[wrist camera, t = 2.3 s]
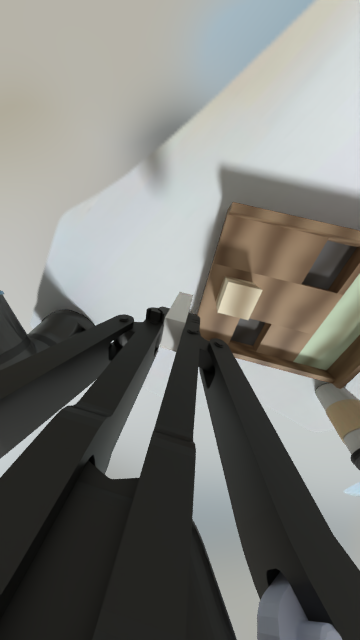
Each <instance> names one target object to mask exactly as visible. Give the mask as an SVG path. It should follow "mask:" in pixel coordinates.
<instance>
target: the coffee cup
mask: <svg viewBox="0 0 360 640" xmlns="http://www.w3.org/2000/svg"><path fill="white" fill-rule="evenodd" d="M315 393H316V396H317V397H318V399H319V401H320V402H321V404H322V406H323V408H324V409H325V411H326V414H327V416H328V417H329V419H330V421H331V423H332V424H333V426H334V428H335V429H336V431H337V433H338V434H339V436H340V438H341V439H342V441H343V443H344V444H345V445H346V446H347V448H348V449H349V451H350V453H351V454H352V455H351V461H352V463H353V464H355V466H356V467H357V468H358V469H359V470H360V400H358V399H357V398H356V397H355V396H354V395H353V394H351V393H350V392H349V391H348V390H347V389H346V388H344V387H343V388H342V389H339V388H336V387H335V386H334V385H333V384H332V383H326V384H323V385H321V386H320V387H318V388H317V389H316V391H315Z"/></svg>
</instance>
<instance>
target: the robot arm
mask: <svg viewBox="0 0 360 640" xmlns="http://www.w3.org/2000/svg"><path fill="white" fill-rule="evenodd" d="M2 294H4V292H3V291H0V458H1V457H3V456H4V455H5V454H6V453H8V452H9V451H10V450H11V449H12V448H14V447H15V446H16V445H17V444H19V443H20V442H21V441H22V440H23V439H25V438H26V437H27V436H28V435H30V434H31V433H32V432H33V431H34V430H36V429H37V428H38V427H39V426H40V425H41V424H43V423H44V422H45V421H47V420H48V419H49V418H50V417H51V416H53V415H54V414H55V413H56V412H57V411H58V410H60V409H61V408H62V407H63V406H65V405H66V404H67V403H68V402H70V401H71V400H72V399H73V398H74V397H76V396H77V395H78V394H79V393H81V392H82V391H83V390H84V389H85V388H87V387H88V386H89V385H90V384H91V383H93V382H94V381H95V380H96V379H97V380H96V381H95V382H94V383H93V384H92V386H91V387H90V388H89V389H88V391H87V392H86V393H85V394H84V395H83V397H82V398H81V399H80V401H79V402H77V404H75V405H74V406H67V407H65V408H63V409H62V410H61V411H60V412H59V413H58V414H57V415H56V416H55V417H54V418H53V419H52V420H51V421H50V422H49V423H48V425H47V426H46V427H45V428H44V429H43V430H42V431H41V433H40V434H39V435H38V436H37V437H36V438H35V439H34V440H33V442H32V443H31V444H30V445H29V446H28V447H27V448H26V449H25V451H24V452H23V453H22V454H21V455H20V456H19V457H18V459H17V460H16V461H15V462H14V463H13V464H12V465H11V467H10V468H9V469H8V470H7V471H6V472H5V473H4V474H3V475H2V477H1V478H0V640H237V639H236V636H235V633H234V630H233V627H232V624H231V622H230V619H229V616H228V613H227V610H226V607H225V604H224V601H223V598H222V596H221V593H220V590H219V587H218V584H217V581H216V578H215V575H214V572H213V569H212V566H211V564H210V561H209V558H208V555H207V552H206V549H205V546H204V543H203V541H202V538H201V536H200V533H199V531H198V529H197V527H196V525H195V523H194V521H193V519H192V512H193V494H194V476H195V458H196V456H195V455H196V454H195V453H196V449H195V443H194V442H193V429H194V415H195V403H196V389H197V376H198V367H200V368H199V371H200V375H201V379H202V383H203V387H204V392H205V396H206V400H207V404H208V408H209V412H210V417H211V421H212V425H213V429H214V433H215V437H216V442H217V446H218V450H219V454H220V458H221V463H222V466H223V471H224V475H225V479H226V483H227V488H228V492H229V496H230V500H231V505H232V509H233V513H234V517H235V521H236V525H237V529H238V533H239V537H240V540H241V544H242V548H243V551H244V555H245V558H246V561H247V564H248V567H249V570H250V572H251V576H252V579H253V582H254V585H255V587H256V590H257V593H258V595H259V598H260V602H259V608H258V614H257V639H258V640H360V571H359V569H358V568H357V566H356V565H355V564H354V562H353V561H352V560H351V558H350V557H349V556H348V554H347V553H346V552H345V550H344V549H343V547H342V546H341V545H340V543H339V542H338V541H337V539H336V538H335V537H334V535H333V533H332V532H331V530H330V528H329V526H328V525H327V523H326V521H325V519H324V517H323V515H322V514H321V512H320V510H319V508H318V506H317V505H316V503H315V501H314V499H313V497H312V496H311V494H310V492H309V490H308V489H307V487H306V485H305V483H304V481H303V479H302V478H301V476H300V474H299V472H298V470H297V469H296V467H295V465H294V463H293V461H292V460H291V458H290V456H289V455H288V452H287V451H286V449H285V447H284V445H283V443H282V442H281V440H280V438H279V436H278V434H277V433H276V431H275V429H274V427H273V425H272V424H271V422H270V420H269V418H268V416H267V415H266V413H265V411H264V409H263V407H262V406H261V404H260V402H259V400H258V398H257V397H256V395H255V393H254V391H253V389H252V387H251V386H250V384H249V382H248V380H247V378H246V377H245V375H244V373H243V371H242V369H241V368H240V366H239V364H238V362H237V360H236V359H235V357H234V355H233V353H232V351H231V350H230V348H229V346H228V345H227V343H226V342H224V341H223V340H221V339H217V338H213V339H211V340H210V341H208V340H206V339H204V338H203V337H202V336H201V333H200V317H199V316H198V315H194V314H190V313H189V309H190V305H191V301H192V297H193V295H190V294H186V293H182V292H179V294H178V296H177V298H176V299H175V301H174V303H173V305H172V306H171V308H166V307H160V308H148V309H147V312H146V320H145V321H144V322H134V318H133V317H131V316H129V315H118V316H116V317H113V318H111V319H109V320H107V321H105V322H103V323H101V324H98V325H96V326H94V325H93V324H92V323H91V322H90V321H89V320H88V319H87V318H86V317H84V316H83V315H81V314H79V313H77V312H74V311H70V310H59V311H56V312H54V313H52V314H50V315H48V316H46V317H45V318H44V319H43V320H42V322H41V323H40V324H39V325H38V326H37V327H35V328H34V329H33V330H32V331H31V332H30V333H29V334H26V332H25V330H24V329H23V327H22V326H21V324H20V322H19V321H18V319H17V317H16V316H15V314H14V313H13V311H12V310H11V308H10V306H9V305H8V303H7V301H6V300H5V298H4V296H3V295H2ZM113 340H114V342H113V343H111V342H112V341H113ZM159 345H160V347H161V348H164V349H168V350H172V351H175V352H176V355H175V359H174V362H173V366H172V369H171V373H170V376H169V380H168V383H167V387H166V390H165V394H164V397H163V400H162V404H161V407H160V411H159V414H158V418H157V421H156V425H155V428H154V431H153V434H152V437H151V440H150V444H149V447H148V451H147V454H146V457H145V461H144V464H143V468H142V472H141V475H140V478H130V479H110V478H108V477H107V476H106V475H105V472H106V470H107V467H108V464H109V461H110V458H111V454H112V451H113V449H114V447H115V444H116V442H117V440H118V438H119V436H120V433H121V431H122V429H123V427H124V425H125V422H126V420H127V418H128V416H129V414H130V411H131V409H132V407H133V405H134V403H135V401H136V398H137V396H138V394H139V392H140V390H141V387H142V385H143V383H144V381H145V379H146V376H147V374H148V372H149V370H150V368H151V365H152V363H153V361H154V359H155V357H156V354H157V352H158V348H159Z"/></svg>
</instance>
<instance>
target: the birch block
mask: <svg viewBox="0 0 360 640" xmlns="http://www.w3.org/2000/svg"><path fill="white" fill-rule="evenodd" d="M262 291H263V290H262V289H260V288H259V287H258V286H257V285H255V284H254V283H253V282H248V281H244V280H240V279H236V278H232V277H228V276H224V279H223V282H222V285H221V288H220V291H219V293H218V296H217V299H216V307H217V312H218V313H222V314H226V315H230V316H233V317H237V318H241V319H245V320H249V318H250V315H251V313H252V311H253V309H254V307H255V305H256V303H257V301H258V299H259V297H260V295H261V293H262Z"/></svg>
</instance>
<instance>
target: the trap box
mask: <svg viewBox="0 0 360 640" xmlns="http://www.w3.org/2000/svg"><path fill="white" fill-rule="evenodd" d="M224 276H228V277H232V278H236V279H240V280H244V281H248V282H253V283H254V284H255V285H257V286H258V287H259V288H260V289H262V290H263V291H262V293H261V295H260V297H259V299H258V301H257V303H256V305H255V307H254V309H253V311H252V313H251V315H250V318H249V320H245V319H241V318H237V317H233V316H230V315H226V314H222V313H218V312H217V307H216V299H217V296H218V293H219V291H220V288H221V285H222V282H223V279H224ZM197 315H198V316H199V317H200V333H201V336H202V337H203V338H204V339H206V340H208V341H210V340H211V339H213V338H217V339H221V340H223V341H224V342H226V343H227V345H228V346H229V348H230V350H231V351H232V353H233V355H234V357H235V358H238V359H242V360H246V361H249V362H253V363H257V364H261V365H265V366H268V367H272V368H276V369H280V370H283V371H287V372H291V373H295V374H298V375H302V376H306V377H310V378H314V379H317V380H321V381H325V382H329V383H332V384H333V385H334V386H335V387H336V388H339V389H342V388H343V387H344V386H345V385H346V384H347V383H348V382H350V381H351V380H352V379H353V378H354V377H355V376H356V375H357V374H358V373H359V372H360V231H359V230H355V229H350V228H346V227H341V226H337V225H332V224H328V223H324V222H319V221H315V220H310V219H306V218H301V217H297V216H293V215H288V214H284V213H279V212H275V211H271V210H266V209H262V208H257V207H253V206H248V205H244V204H240V203H235V202H233V203H232V204H231V206H230V207H229V209H228V211H227V215H226V218H225V221H224V225H223V228H222V232H221V235H220V238H219V242H218V245H217V249H216V252H215V255H214V259H213V262H212V266H211V269H210V272H209V276H208V279H207V283H206V286H205V289H204V293H203V296H202V300H201V303H200V307H199V310H198V313H197Z"/></svg>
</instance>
